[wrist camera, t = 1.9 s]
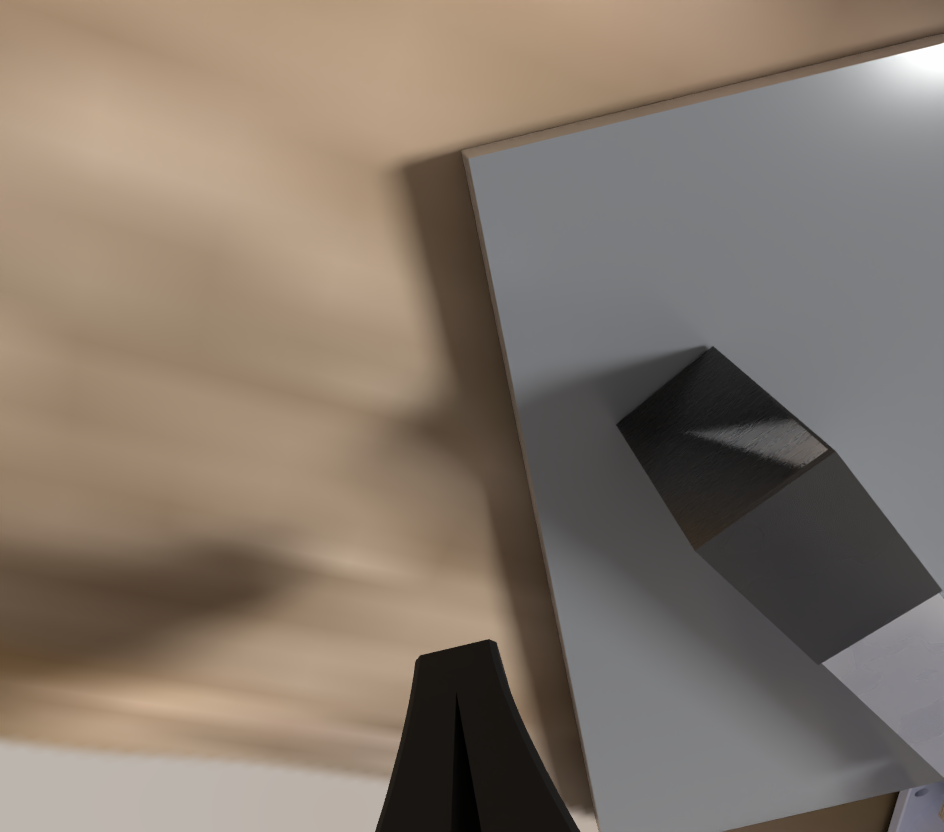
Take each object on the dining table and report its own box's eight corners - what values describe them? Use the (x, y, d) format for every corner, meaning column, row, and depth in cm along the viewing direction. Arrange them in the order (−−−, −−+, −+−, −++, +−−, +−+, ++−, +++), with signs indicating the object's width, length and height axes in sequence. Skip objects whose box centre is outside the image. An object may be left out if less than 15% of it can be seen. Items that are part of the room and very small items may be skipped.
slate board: (1108, 703, 22) (1144, 734, 20) (596, 820, 22) (606, 858, 21) (1569, -119, 10) (1704, -142, 9) (460, 150, 10) (468, 158, 9)
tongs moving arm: (1011, 713, 19) (1134, 840, 16) (942, 749, 19) (1047, 878, 16) (712, 345, 11) (836, 451, 8) (615, 424, 12) (694, 550, 9)
